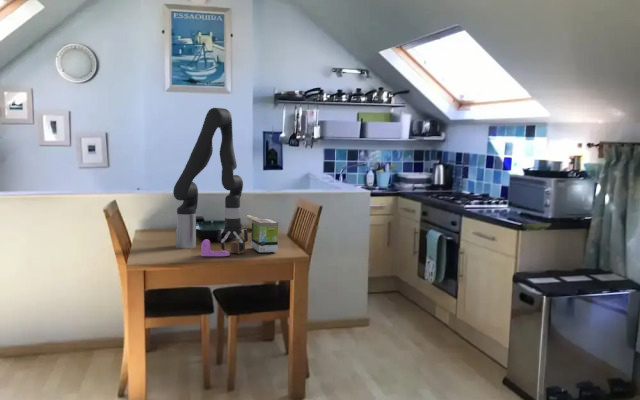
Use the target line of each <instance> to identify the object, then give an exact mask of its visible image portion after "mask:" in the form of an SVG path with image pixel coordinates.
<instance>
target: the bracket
mask: <svg viewBox="0 0 640 400" xmlns="http://www.w3.org/2000/svg"><path fill="white" fill-rule="evenodd" d="M200 246H201V247H200V250H201V251H200V255H201V256H200V257H228V256H229V257H230V255H231V254H230V253H231V251H228V250H211V241H210V240H209V239H203V240H202V242H201V245H200Z"/></svg>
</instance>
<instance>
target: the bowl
mask: <svg viewBox="0 0 640 400" xmlns="http://www.w3.org/2000/svg"><path fill="white" fill-rule="evenodd" d="M246 218H247V220H248V227H249V229H250V230H252V219H260V218H259V217H256V216H253V215H250V214H247V215H246Z"/></svg>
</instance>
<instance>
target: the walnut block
mask: <svg viewBox="0 0 640 400" xmlns="http://www.w3.org/2000/svg"><path fill="white" fill-rule="evenodd" d="M240 243H241V242H240V241H239V240H234V241H231V242H230V253H233V254H238V255H239V254H242V253H245V252H246V242H244V249H243V250H242V251H240Z"/></svg>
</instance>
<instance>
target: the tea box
mask: <svg viewBox="0 0 640 400" xmlns="http://www.w3.org/2000/svg"><path fill="white" fill-rule="evenodd" d="M278 243H279V222H278V221H276V220H273V219H270V218H259V219H252V229H251V248H252V249H254V251H257V252H258V253H275V252H278V246H279V244H278Z"/></svg>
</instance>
